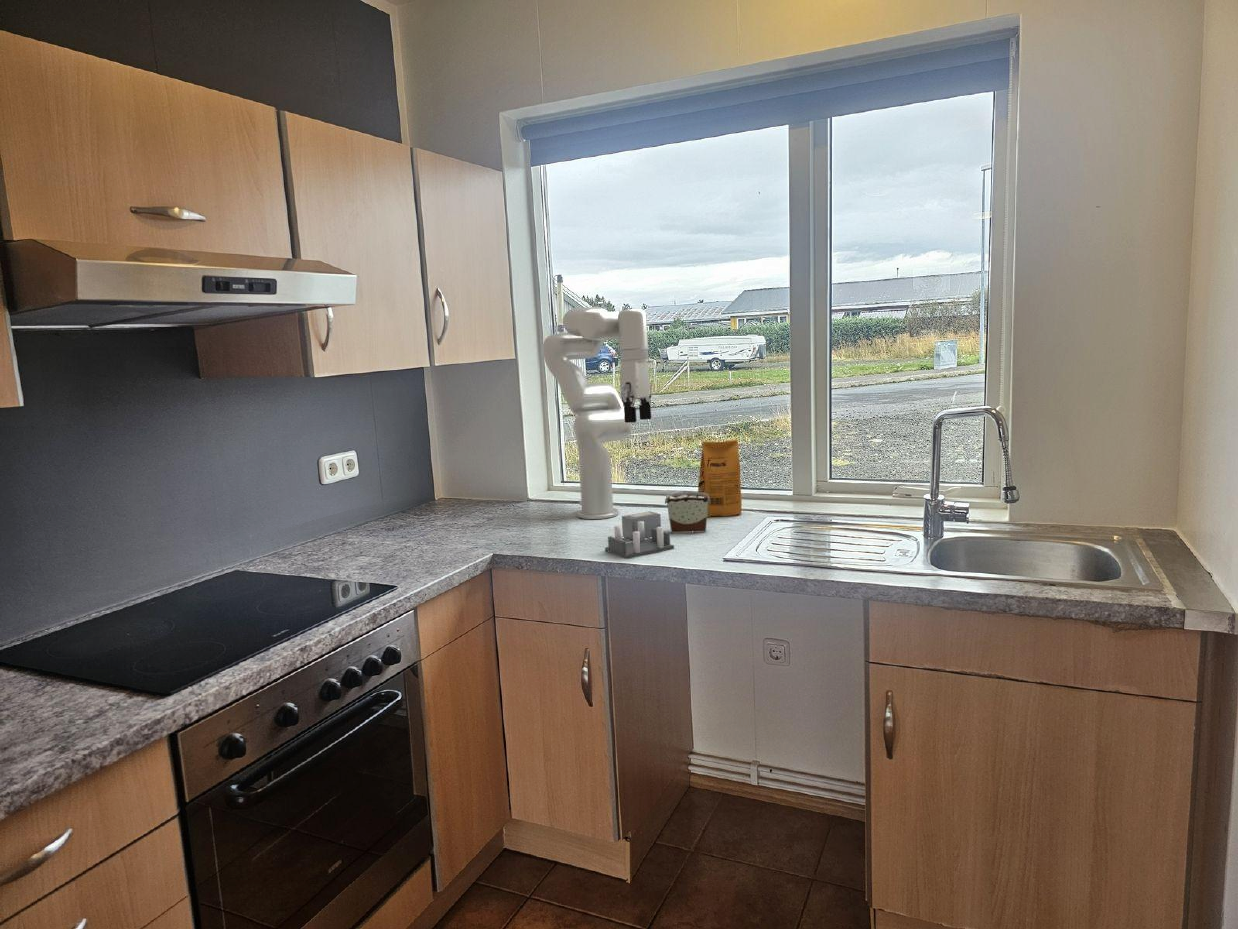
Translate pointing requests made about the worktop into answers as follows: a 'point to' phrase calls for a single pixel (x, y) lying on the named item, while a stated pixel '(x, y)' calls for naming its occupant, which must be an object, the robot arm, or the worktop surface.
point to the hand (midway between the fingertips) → (638, 420)
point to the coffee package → (721, 477)
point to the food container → (687, 511)
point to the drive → (632, 521)
